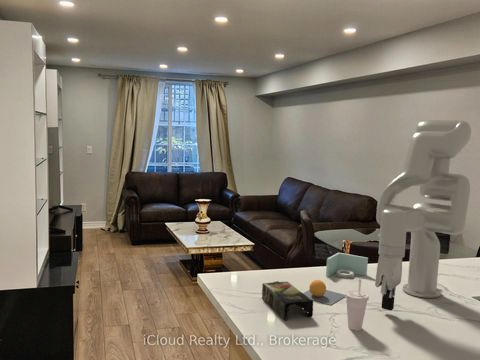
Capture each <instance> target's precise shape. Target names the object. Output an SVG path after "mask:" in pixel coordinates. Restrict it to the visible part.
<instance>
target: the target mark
mask: <svg viewBox="0 0 480 360" xmlns="http://www.w3.org/2000/svg"><path fill="white" fill-rule="evenodd" d="M302 293H303V294H304V295H306V296H307V297H308V298H310V299H311V300H313V302H317V303H321V304H324V305H327V306H332V305H334V304H336V303H337V302H339V301H341V300H343V299H344V298H346V297H345V295H346V294H344V293H340V292H336V291H332V290H329V289H328V290H327V289H326V292H325V294H324V295H323V296H321V297H316V296H313V295H312V294H311V292H310V289H308V290H306V291H304V292H302Z"/></svg>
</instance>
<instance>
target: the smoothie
mask: <svg viewBox="0 0 480 360" xmlns="http://www.w3.org/2000/svg"><path fill="white" fill-rule="evenodd" d="M361 284H362V279H358V290H349V291H346V292H345V294H344V295H345V297H344V298H345V299H346V312H347V313H346V314H347V316H346V317H347V327H348V329H349V330H352V331H356V332H359V331H362V329H363V324H364V319H365V314H366V309H367V304H368V301H369V298H370V297H369V296H370V295H369V294H368V293H365V292H363V291H361V289H362V285H361Z"/></svg>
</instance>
